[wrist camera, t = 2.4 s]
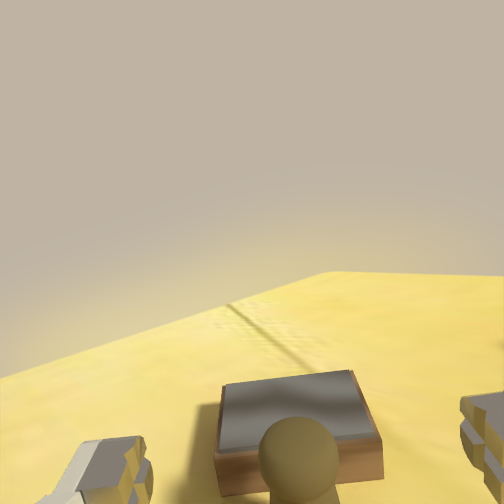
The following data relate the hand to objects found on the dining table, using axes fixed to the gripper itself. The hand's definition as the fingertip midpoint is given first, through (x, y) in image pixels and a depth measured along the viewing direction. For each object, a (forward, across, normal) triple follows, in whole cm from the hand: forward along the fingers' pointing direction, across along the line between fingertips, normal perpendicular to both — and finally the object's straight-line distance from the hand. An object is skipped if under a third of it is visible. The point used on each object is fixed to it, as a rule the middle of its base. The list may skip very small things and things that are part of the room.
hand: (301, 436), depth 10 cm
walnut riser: (+23, 0, +22) cm, 32 cm away
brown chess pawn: (+12, 0, +22) cm, 25 cm away
